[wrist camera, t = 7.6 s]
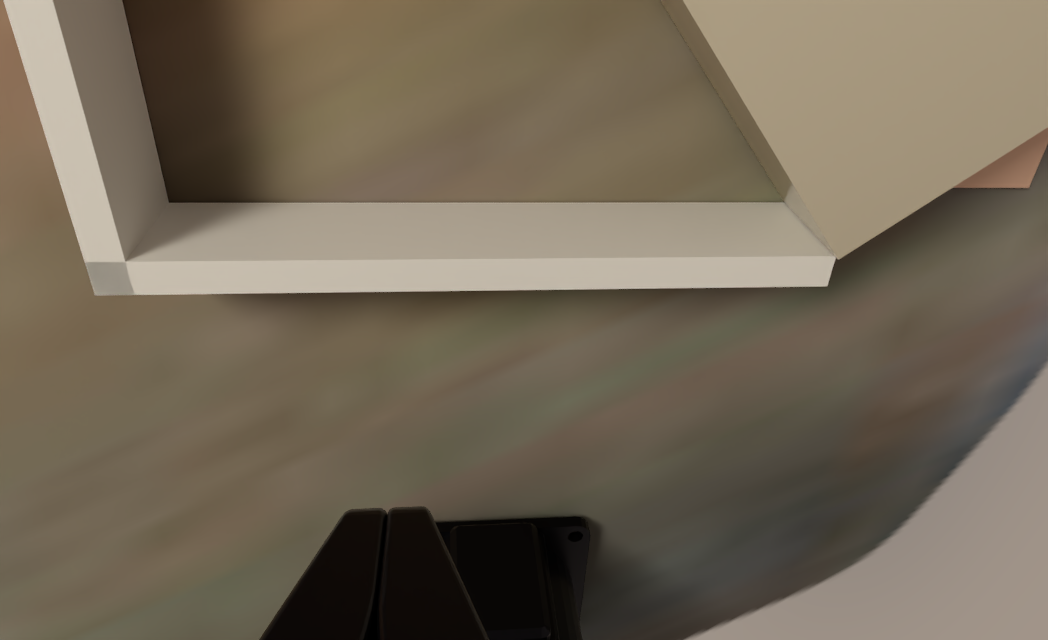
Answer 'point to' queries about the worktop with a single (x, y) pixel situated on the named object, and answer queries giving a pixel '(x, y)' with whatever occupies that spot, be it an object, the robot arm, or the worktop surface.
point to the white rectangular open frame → (352, 209)
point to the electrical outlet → (872, 97)
